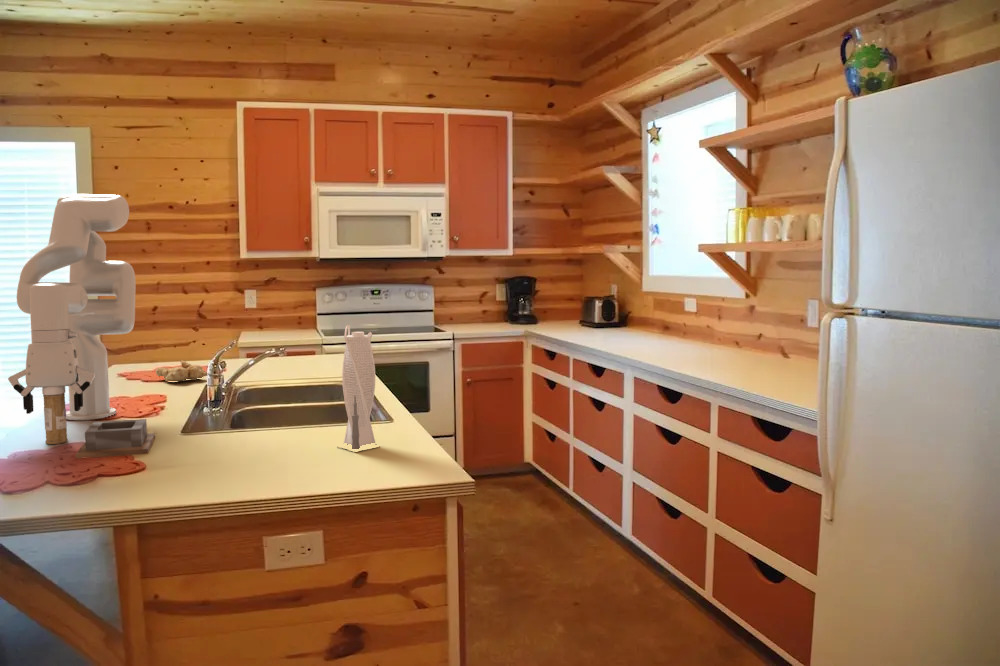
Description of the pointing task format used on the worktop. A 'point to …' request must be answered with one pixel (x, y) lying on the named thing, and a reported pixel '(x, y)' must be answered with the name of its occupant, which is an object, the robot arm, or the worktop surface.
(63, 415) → the sprinkles bottle
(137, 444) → the socket
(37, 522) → the worktop surface
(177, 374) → the ginger root
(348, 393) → the skyscraper
